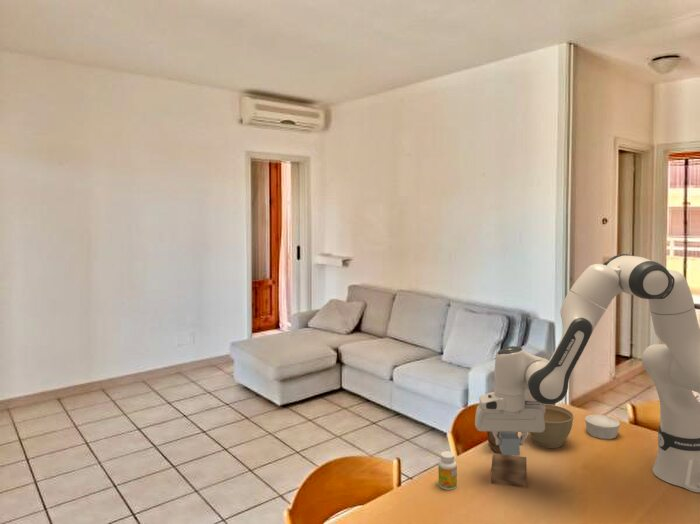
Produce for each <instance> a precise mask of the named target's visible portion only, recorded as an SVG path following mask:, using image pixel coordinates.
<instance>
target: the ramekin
mask: <svg viewBox="0 0 700 524" xmlns="http://www.w3.org/2000/svg"><path fill="white" fill-rule="evenodd" d="M584 422H585V426H586V430H587V433H588V434H589V435H590V436H591V437H594V438H596V439H599V440H613V438H614V439H615V438H616V437H617V436H618V432H619V428H620V426H621V423H620V421H619V420H618V419H616V418H614V417H612V416H608V415H604V414H589V415H587V416H585V417H584Z"/></svg>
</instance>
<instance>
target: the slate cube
mask: <svg viewBox="0 0 700 524" xmlns="http://www.w3.org/2000/svg"><path fill="white" fill-rule="evenodd" d="M499 437H500V438H501V445H499V448H500V450H501V453H502V455H512V456H520V453H521V452H520V450H521V448H520V447H521V446H520V439H519V438H520V437H519V434H518V435H517V433H516V432H500V434H499Z"/></svg>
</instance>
